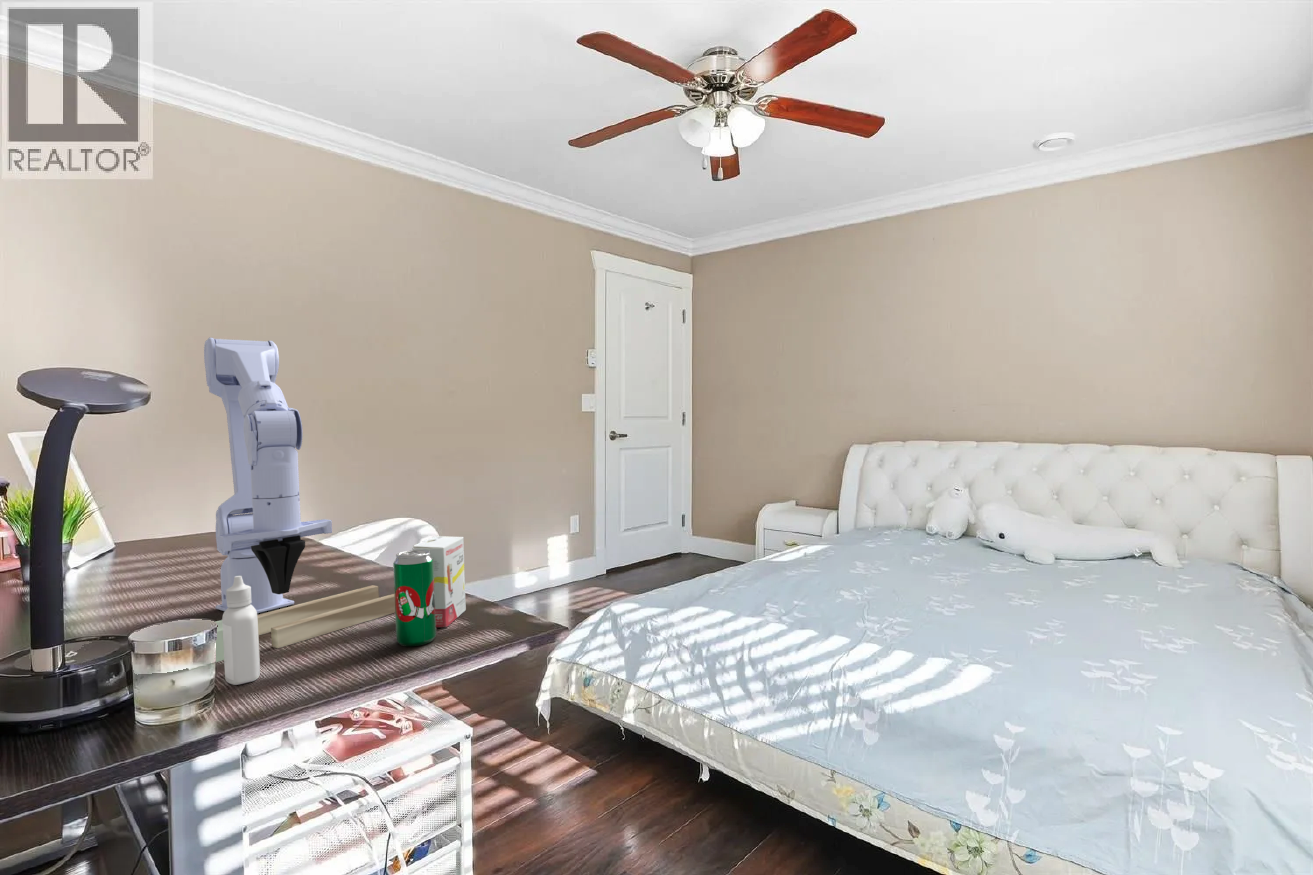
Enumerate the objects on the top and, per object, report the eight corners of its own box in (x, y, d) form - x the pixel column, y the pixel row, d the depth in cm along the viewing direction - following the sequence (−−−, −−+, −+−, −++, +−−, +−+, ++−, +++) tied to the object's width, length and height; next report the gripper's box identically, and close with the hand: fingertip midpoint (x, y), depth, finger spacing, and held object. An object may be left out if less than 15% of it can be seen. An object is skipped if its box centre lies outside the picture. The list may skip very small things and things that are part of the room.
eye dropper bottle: (210, 688, 72) (204, 583, 72) (233, 669, 78) (229, 572, 77) (252, 684, 73) (247, 581, 72) (272, 666, 78) (268, 569, 78)
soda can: (426, 632, 89) (423, 547, 89) (443, 640, 86) (439, 552, 85) (390, 641, 86) (386, 553, 85) (406, 651, 82) (402, 559, 82)
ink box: (446, 628, 91) (443, 546, 90) (413, 628, 91) (409, 546, 91) (467, 610, 99) (465, 535, 99) (436, 610, 100) (433, 535, 99)
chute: (243, 636, 90) (242, 618, 90) (373, 599, 106) (372, 585, 106) (277, 648, 84) (277, 629, 84) (409, 608, 101) (408, 592, 101)
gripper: (232, 504, 81) (237, 610, 81) (342, 491, 93) (345, 583, 93) (207, 501, 84) (212, 602, 85) (315, 489, 97) (319, 577, 97)
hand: (280, 592), depth 89 cm, fingers closed
